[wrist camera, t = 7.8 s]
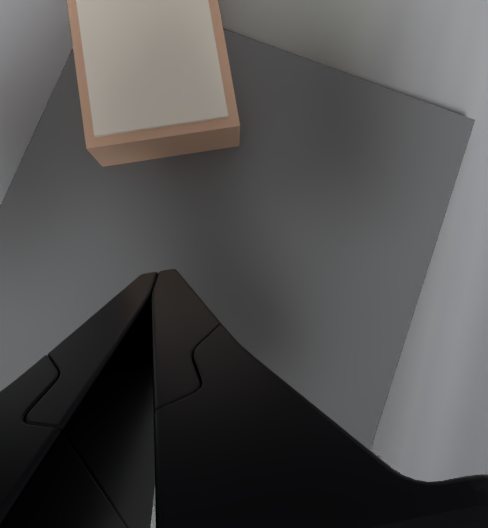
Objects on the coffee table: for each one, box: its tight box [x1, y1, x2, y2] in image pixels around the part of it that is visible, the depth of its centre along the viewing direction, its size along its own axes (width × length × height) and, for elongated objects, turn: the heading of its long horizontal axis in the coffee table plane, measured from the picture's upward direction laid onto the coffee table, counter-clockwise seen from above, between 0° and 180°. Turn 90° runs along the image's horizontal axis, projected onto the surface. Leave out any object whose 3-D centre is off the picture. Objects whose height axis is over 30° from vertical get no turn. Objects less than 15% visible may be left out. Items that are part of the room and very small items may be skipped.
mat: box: [0, 29, 475, 506], centre depth 18 cm, size 18×20×1 cm
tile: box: [67, 0, 240, 167], centre depth 18 cm, size 2×6×9 cm
